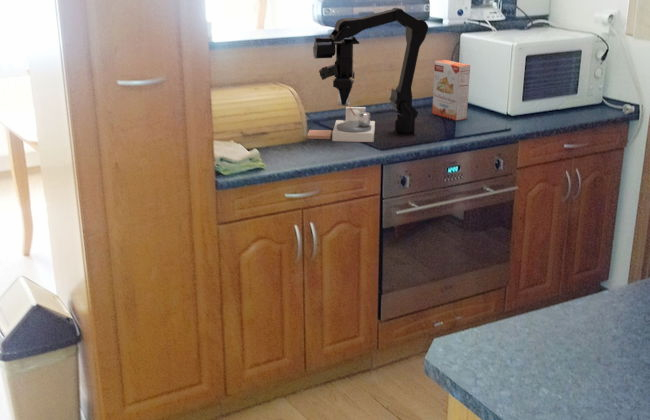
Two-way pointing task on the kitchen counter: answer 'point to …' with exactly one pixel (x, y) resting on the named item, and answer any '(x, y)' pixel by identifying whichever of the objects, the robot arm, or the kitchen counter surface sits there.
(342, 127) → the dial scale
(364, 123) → the cylinder
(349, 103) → the cylinder
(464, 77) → the cracker box
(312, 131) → the rubber mat
